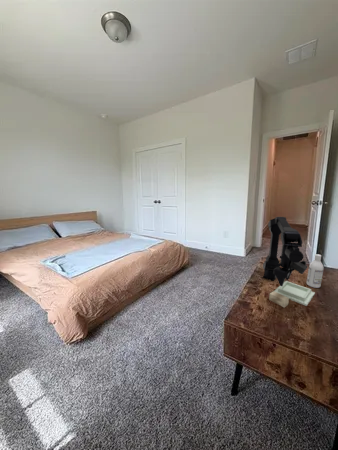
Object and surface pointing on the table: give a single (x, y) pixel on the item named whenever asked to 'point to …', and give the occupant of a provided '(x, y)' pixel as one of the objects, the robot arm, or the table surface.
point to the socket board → (295, 292)
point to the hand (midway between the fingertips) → (284, 282)
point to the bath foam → (315, 272)
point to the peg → (279, 299)
